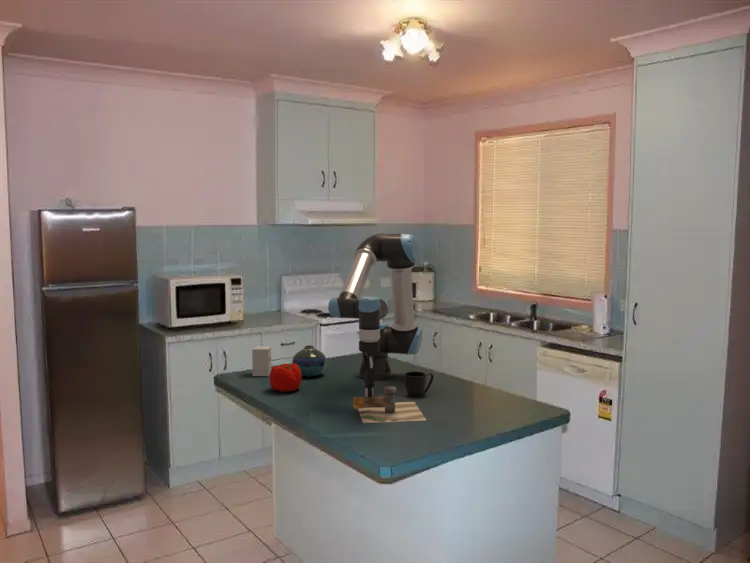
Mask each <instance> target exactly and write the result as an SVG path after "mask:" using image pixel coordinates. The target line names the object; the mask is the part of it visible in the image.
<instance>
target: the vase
mask: <svg viewBox="0 0 750 563" xmlns="http://www.w3.org/2000/svg"><path fill="white" fill-rule="evenodd" d="M292 363H294V364H297V365H298V367H299V368H300V369H301V377H303V376H307V377H306V378H312V377H311V376H314V377H318V376H320V375H321V374H322V373H324V371H325V370H326V367H327V363H328V362H327V356H326V355H325V354H324V353H323V351H320V350H319V349H316V348H315V346H314V345H311V344H310V345H304V348H302V349H301V350H299V351H297V352H296V353H295V354H294V355H293V357H292V360H291V364H292Z"/></svg>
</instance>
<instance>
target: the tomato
mask: <svg viewBox="0 0 750 563" xmlns="http://www.w3.org/2000/svg"><path fill="white" fill-rule="evenodd" d="M269 385H270V387H271V389H272V390H274V391H276V390H278V391H277V392H281V393H286V392H294V391H296V390H298V388H300V386H302V376H301V369H300V368H299V367H298V365H297V364H294V363H292V362H291V363H282V364H280V365H279V366H278V365H275V366H272V367H271V372H270V375H269Z"/></svg>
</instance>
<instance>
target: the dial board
mask: <svg viewBox="0 0 750 563" xmlns="http://www.w3.org/2000/svg"><path fill="white" fill-rule="evenodd" d="M357 410H358V413H359V416H360V419H361V422H362V423H363V424H373V423H375V424H376V423H396V422H397V423H399V422H416V421H417V422H420V421H424V422H425V421H427V418H426V417H425V415H424V414H423V413H422V411H421V410H420V408H419V406H418V405H417V404H416V402H415V401H402V402H400V401H399V402H398V401H397V402H396V401H395V412H391V413H389V412H385V407H373V408H357Z"/></svg>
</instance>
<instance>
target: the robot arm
mask: <svg viewBox="0 0 750 563" xmlns="http://www.w3.org/2000/svg"><path fill="white" fill-rule="evenodd" d="M419 251H420V250H419V245H418V241H417V239H416V237H415V236H414V235H413V234H411V233H409V234H408V233H376V234H373V235H370V236H369V237H367V238H365V239H364V240H363V241H362V242H361V243H360V244H359V245H358V246H357V248H356V249H355V252H354V254H353V259H354V260H353V263H352V266H351V267H350V269H349V272H348V273H347V277H346V280H345V282H344V284H343V287H342V289H341V290H340V293H339V295H338V296H336V297H332V298H330V299H329V301H328V308H327V309H328V313H329V315H330V316H331V317H332V318H337V319H358V330H357V332H356V333H357V335H358V339H359V341H358V351H360V352H361V361H360V363H359V367H358V371H357V376H358V377H359V378H362V379H364V384H365V385H364V386H363V387H364V389H365V391H364V392H365V395H364V397H374V388H375V380H384V379H385V380H386V379H389V378H391V377H392V376H393V370H392V367H391V364H390V360H389V354H394V355H396V354H397V355H406V356H408V355H411V356H412V355H413V356H414V355H418V353H419V351H420V348H421V345H422V340H423V329H422V328H420V327H419V326H418V322H417V321H416V320H415V318H414V317H415V315H414V314H415V313H414V312H415V311H414V295H413V277H412V275H413V274H412V269H413V268H414V267H415V265H416V263H417V262H418V260H419ZM377 262H386V266H387V268H388V269H389V270H390V274H391V276H390V277H391V290H392V308H393V322H392V323H391V324H390V326H389V324H388V322H381V320H382V319H383V318H385V317H386V316H387V315H388V314H389V312H390V305H389V302H388V301H387V300H386V299H385V298H382V297H378V296H371V295H369V296H368V295H367V296H361V294H362V292H363V290H364V287H365V285H366V282H367V280H368V277H369V275H370V273H371V272H370V271H371V269H372V267H374V266H375V265H376V263H377ZM360 296H361V297H360Z"/></svg>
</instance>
